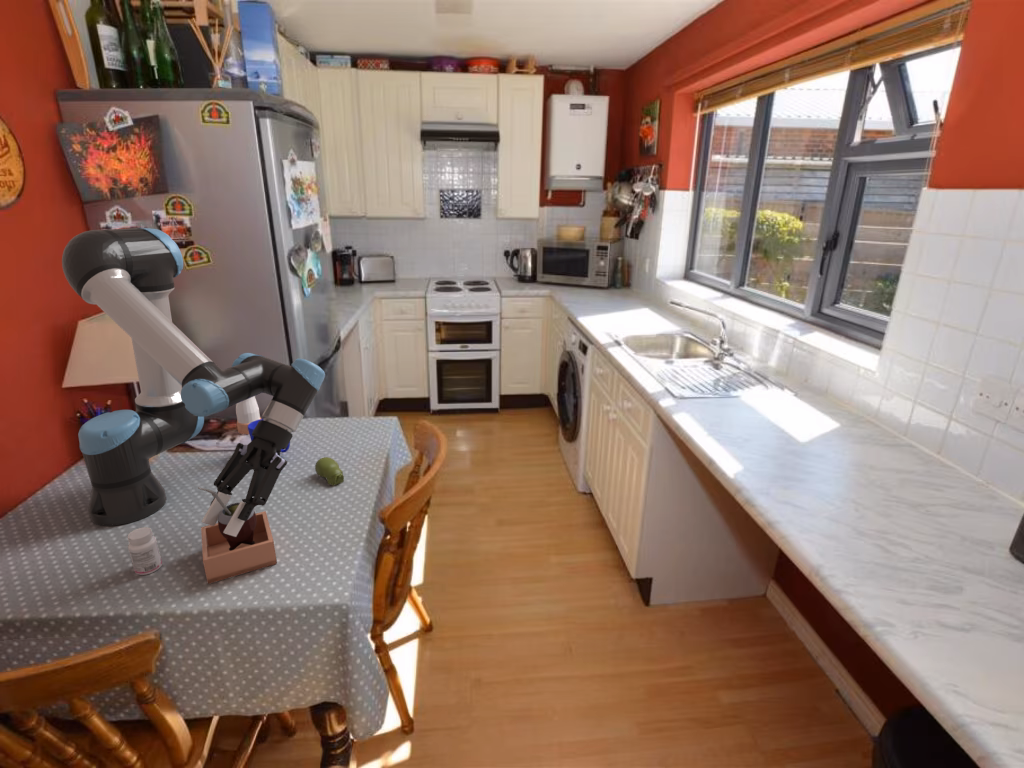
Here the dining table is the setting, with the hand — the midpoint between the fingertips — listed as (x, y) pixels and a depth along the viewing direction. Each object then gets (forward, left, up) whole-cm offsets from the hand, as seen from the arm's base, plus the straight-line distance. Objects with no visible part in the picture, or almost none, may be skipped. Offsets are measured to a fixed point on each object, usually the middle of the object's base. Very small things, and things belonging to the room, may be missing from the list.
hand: (218, 529), depth 106 cm
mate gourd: (+3, +2, -6) cm, 7 cm away
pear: (+27, +26, -9) cm, 39 cm away
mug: (+15, +48, -9) cm, 51 cm away
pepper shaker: (+11, +71, -9) cm, 72 cm away
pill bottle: (-14, +7, -9) cm, 18 cm away
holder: (+3, +2, -9) cm, 9 cm away
